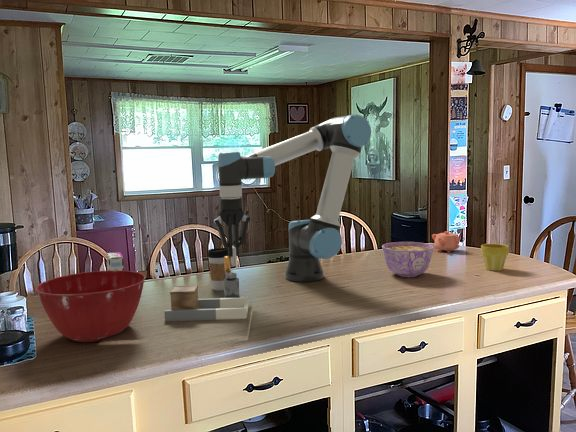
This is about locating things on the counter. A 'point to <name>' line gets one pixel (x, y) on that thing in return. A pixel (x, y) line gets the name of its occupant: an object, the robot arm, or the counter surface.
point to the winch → (231, 289)
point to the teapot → (446, 241)
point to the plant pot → (494, 256)
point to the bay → (212, 310)
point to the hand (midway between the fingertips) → (233, 265)
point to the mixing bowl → (92, 303)
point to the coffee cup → (217, 267)
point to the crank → (227, 269)
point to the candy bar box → (115, 261)
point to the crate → (184, 297)
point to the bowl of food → (407, 257)
